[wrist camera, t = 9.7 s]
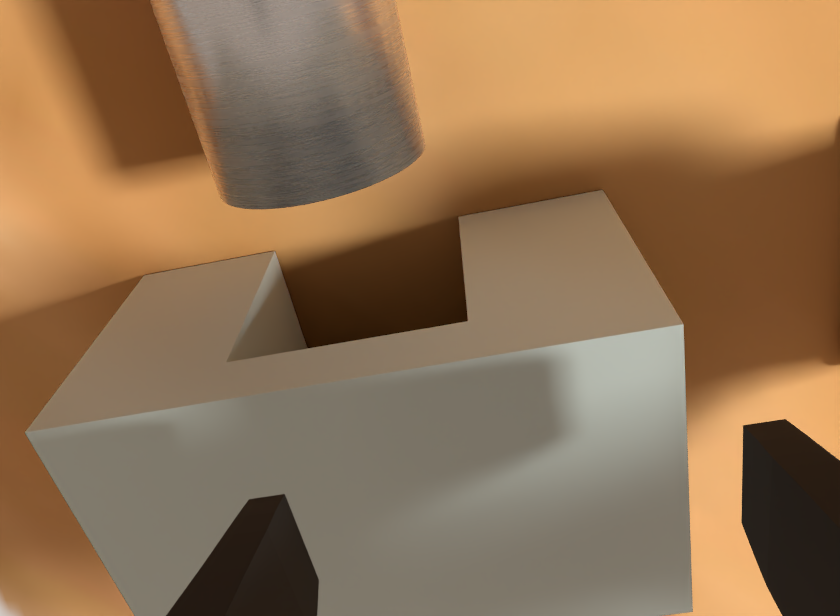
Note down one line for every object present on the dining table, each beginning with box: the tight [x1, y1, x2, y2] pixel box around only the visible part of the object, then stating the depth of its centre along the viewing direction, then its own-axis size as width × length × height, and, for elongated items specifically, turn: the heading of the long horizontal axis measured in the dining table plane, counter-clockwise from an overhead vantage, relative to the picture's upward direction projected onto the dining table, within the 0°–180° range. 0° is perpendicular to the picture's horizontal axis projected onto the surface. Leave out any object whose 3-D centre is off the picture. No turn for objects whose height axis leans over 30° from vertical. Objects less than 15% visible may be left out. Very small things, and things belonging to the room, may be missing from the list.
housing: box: [25, 190, 693, 616], centre depth 19 cm, size 13×8×7 cm, turn 102°
